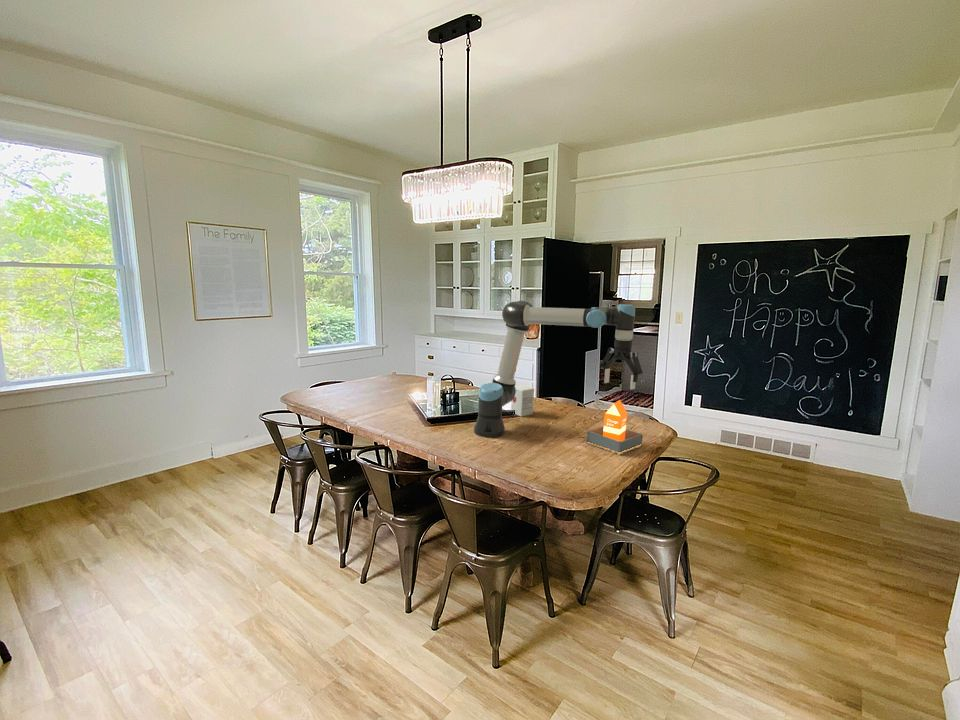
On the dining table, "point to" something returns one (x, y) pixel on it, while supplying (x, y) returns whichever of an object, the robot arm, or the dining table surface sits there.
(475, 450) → the dining table surface
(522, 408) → the supplement box
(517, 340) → the robot arm
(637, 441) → the bin
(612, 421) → the orange juice
